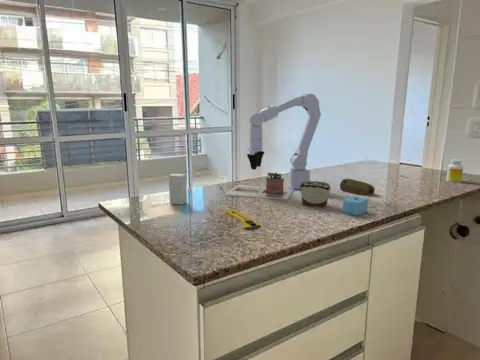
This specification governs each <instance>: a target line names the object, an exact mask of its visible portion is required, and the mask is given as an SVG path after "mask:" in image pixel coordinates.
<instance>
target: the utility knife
mask: <svg viewBox="0 0 480 360" xmlns="http://www.w3.org/2000/svg"><path fill="white" fill-rule="evenodd" d="M225 213H226V214H227V215H229V217H232V218H233V219H236V220H237V221H238V222H240V223H241V224H242V229H243V230H244V231H255V229H256V230H259V229H260V228H261V227H262V226H261V224H260V223H259V222H257V220H254V219H253V218H251V217H249V216H247V215H246V214H245V213H242V212H240V211H239V210H236V209H229V210H225ZM258 228H259V229H258Z"/></svg>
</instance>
